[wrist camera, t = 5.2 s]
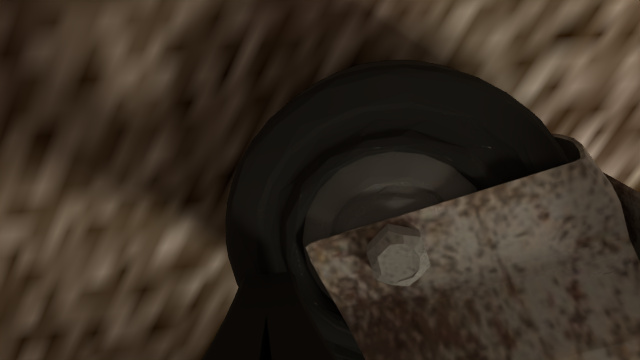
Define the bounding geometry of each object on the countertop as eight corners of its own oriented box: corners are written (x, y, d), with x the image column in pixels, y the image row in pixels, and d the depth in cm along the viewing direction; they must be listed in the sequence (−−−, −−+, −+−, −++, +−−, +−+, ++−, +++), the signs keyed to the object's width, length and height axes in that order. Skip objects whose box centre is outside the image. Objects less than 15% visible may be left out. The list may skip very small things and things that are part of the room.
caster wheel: (227, 111, 15) (543, -11, 12) (345, 386, 17) (621, 323, 15) (115, 165, 8) (721, -66, 6) (330, 587, 11) (801, 525, 9)
